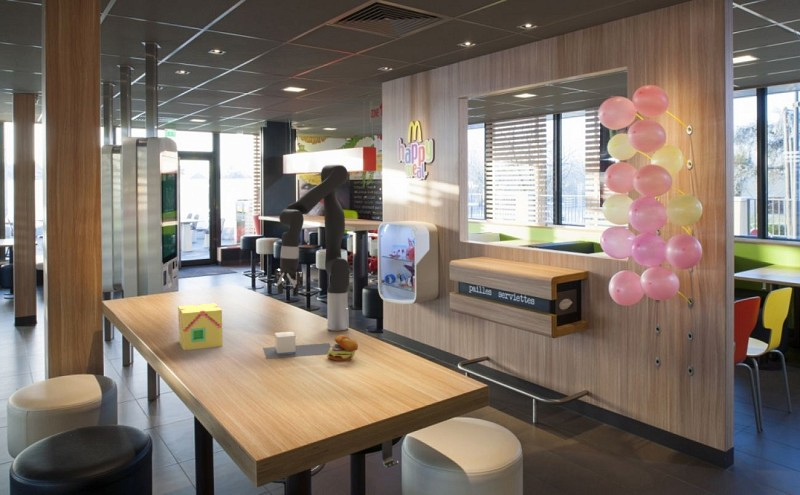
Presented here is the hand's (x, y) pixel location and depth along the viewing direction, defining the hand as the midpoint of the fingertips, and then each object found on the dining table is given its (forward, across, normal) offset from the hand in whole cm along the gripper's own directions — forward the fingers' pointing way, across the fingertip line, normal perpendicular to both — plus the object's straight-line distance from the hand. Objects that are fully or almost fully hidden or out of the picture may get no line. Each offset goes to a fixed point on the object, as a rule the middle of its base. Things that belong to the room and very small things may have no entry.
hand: (287, 295), depth 246 cm
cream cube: (+20, -12, +13) cm, 27 cm away
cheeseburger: (+20, -36, +6) cm, 41 cm away
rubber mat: (+20, -16, +9) cm, 27 cm away
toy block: (+22, +26, +23) cm, 41 cm away
